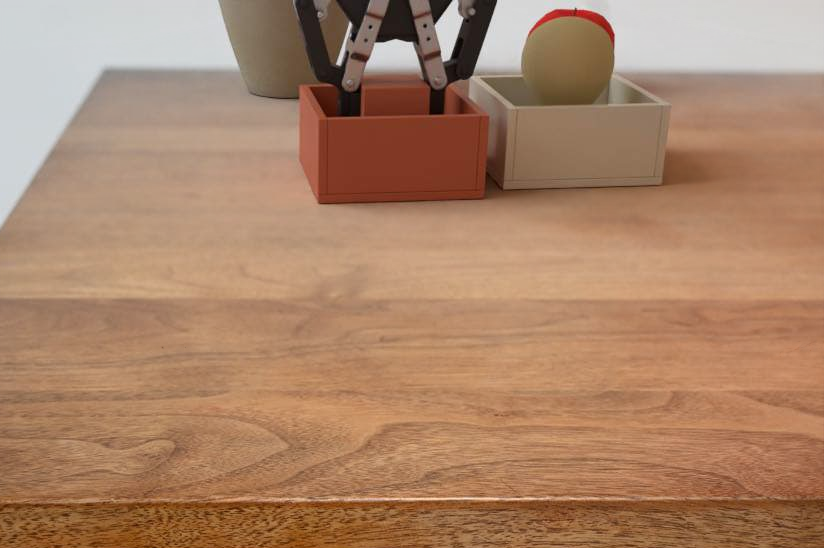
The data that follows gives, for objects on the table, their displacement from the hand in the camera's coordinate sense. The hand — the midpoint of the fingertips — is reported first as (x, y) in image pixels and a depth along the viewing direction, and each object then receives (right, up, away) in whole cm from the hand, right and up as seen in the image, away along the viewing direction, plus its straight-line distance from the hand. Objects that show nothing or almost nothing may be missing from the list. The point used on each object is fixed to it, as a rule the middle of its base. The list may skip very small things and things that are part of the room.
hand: (389, 141), depth 87 cm
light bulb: (+13, -1, +4) cm, 13 cm away
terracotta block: (0, 0, 0) cm, 0 cm away
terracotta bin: (0, -2, +1) cm, 3 cm away
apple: (+19, +10, +30) cm, 36 cm away
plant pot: (-7, +10, +29) cm, 31 cm away
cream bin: (+13, -1, +4) cm, 13 cm away
